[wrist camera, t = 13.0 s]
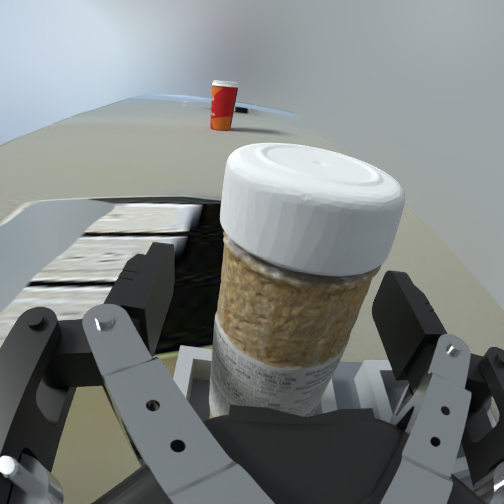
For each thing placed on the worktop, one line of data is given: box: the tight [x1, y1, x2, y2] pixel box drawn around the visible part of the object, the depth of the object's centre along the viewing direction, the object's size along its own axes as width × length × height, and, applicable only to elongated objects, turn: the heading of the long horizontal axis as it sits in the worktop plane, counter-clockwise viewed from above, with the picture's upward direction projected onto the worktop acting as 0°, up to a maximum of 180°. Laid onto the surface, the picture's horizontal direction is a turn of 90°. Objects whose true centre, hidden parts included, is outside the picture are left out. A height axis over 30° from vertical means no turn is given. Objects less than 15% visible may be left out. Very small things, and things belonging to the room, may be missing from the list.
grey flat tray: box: [173, 346, 497, 491], centre depth 14 cm, size 19×11×5 cm, turn 89°
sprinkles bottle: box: [209, 143, 405, 419], centre depth 11 cm, size 5×5×14 cm
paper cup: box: [211, 81, 239, 131], centre depth 84 cm, size 8×8×14 cm
